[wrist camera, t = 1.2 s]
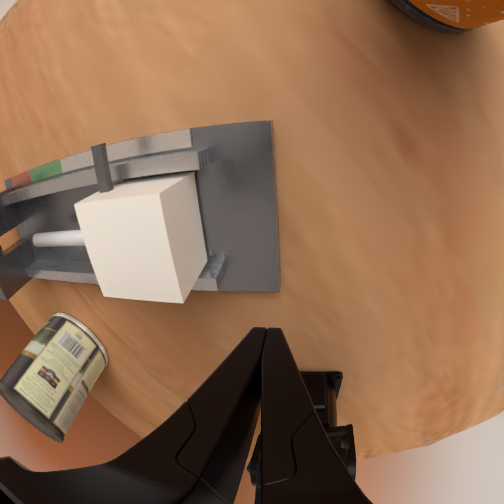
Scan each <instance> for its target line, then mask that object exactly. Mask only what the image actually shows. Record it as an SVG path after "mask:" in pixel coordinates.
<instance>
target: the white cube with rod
mask: <svg viewBox="0 0 504 504" xmlns="http://www.w3.org/2000/svg"><path fill="white" fill-rule="evenodd" d="M91 150H92V156H93V162H94V167H95V172H96V178H97V183H98V187H99V191H98V192H96V193H94V194H92V195H91V196H89V197H87V198H85V199H83V200H81V201H79V202H77V203H76V204H74V207H75V211H76V215H77V218H78V222H79V226H80V229H81V230H68V231H56V232H44V233H36V234H34V236H33V244H34V246H36V247H54V246H86V249H87V252H88V255H89V258H90V261H91V264H92V267H93V269H94V272H95V275H96V278H97V280H98V283H99V286H100V288H101V291H102V293H103V296H105V297H114V298H124V299H134V300H145V301H157V302H170V303H184V302H185V300H186V298H187V296H188V295H189V293H190V291H191V289H192V287H193V286H194V284H195V282H196V280H197V279H198V277H199V275H200V273H201V271H202V270H203V268H204V266H205V264H206V263H207V261H208V260H207V254H206V248H205V242H204V236H203V230H202V224H201V217H200V210H199V204H198V197H197V190H196V183H195V175H194V172H187V173H178V174H169V175H161V176H153V177H145V178H138V179H131V180H125V181H119V182H116V183H114V184H112V179H111V174H110V168H109V163H108V157H107V150H106V144H105V143H103V144H99V145H96V146H92V147H91Z"/></svg>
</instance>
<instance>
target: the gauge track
mask: <svg viewBox="0 0 504 504" xmlns="http://www.w3.org/2000/svg"><path fill="white" fill-rule="evenodd" d="M106 150H107V157H108V163H109V168H110V174H111V179H112V184H114V183H116V182H119V181H125V180H131V179H138V178H145V177H153V176H161V175H169V174H178V173H187V172H194V175H195V183H196V190H197V197H198V204H199V210H200V217H201V224H202V230H203V236H204V242H205V248H206V254H207V260H208V261H207V263H206V264H205V266H204V268H203V270H202V271H201V273H200V275H199V277H198V279H197V280H196V282H195V284H194V286H193V287H192V289H191V290H201V291H242V292H280V284H281V280H280V250H279V226H278V205H277V186H276V168H275V152H274V137H273V123H272V121H256V122H243V123H232V124H222V125H213V126H205V127H198V128H191V129H184V130H178V131H172V132H166V133H161V134H156V135H151V136H146V137H141V138H136V139H132V140H127V141H123V142H119V143H115V144H111V145H107V146H106ZM5 185H6V190H4V191H2V192H0V236H2V235H3V234H5V233H6V232H8V231H9V230H11V229H12V228H14V227H17V230H18V233H19V236H20V240H19V241H17V242H16V243H15V244H13V245H12V246H10V247H9V248H7V249H6V250H5V251H2V249H1V246H0V299H3V300H9V299H10V298H11V297H12V296H13V295H14V294H15V293H16V292H17V291H18V290H19V289H20V288H22V287H23V286H24V285H25V284H26V283H27V282H28V281H30V280H31V279H32V278H40V279H50V280H59V281H69V282H79V283H91V284H99V283H98V280H97V278H96V275H95V272H94V269H93V267H92V264H91V261H90V258H89V255H88V252H87V249H86V246H54V247H36V246H34V244H33V236H34V234H36V233H44V232H56V231H68V230H81V229H80V226H79V222H78V218H77V215H76V211H75V207H74V204H76V203H77V202H79V201H81V200H83V199H85V198H87V197H89V196H91V195H92V194H94V193H96V192H98V191H99V187H98V183H97V178H96V172H95V167H94V162H93V156H92V150H89V151H85V152H82V153H78V154H75V155H72V156H69V157H66V158H63V159H60V160H57V161H54V162H51V163H48V164H45V165H42V166H40V167H37V168H34V169H32V170H29V171H27V172H24V173H22V174H19V175H17V176H14V177H12V178H10V179H7V180H5Z"/></svg>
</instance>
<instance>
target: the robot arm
mask: <svg viewBox="0 0 504 504" xmlns="http://www.w3.org/2000/svg"><path fill="white" fill-rule="evenodd" d="M342 378H343V375H342V372H299V369H298V367H297V365H296V362H295V360H294V358H293V355H292V353H291V350H290V348H289V346H288V343H287V341H286V338H285V336H284V334H283V331H282V329H281V328H268V329H266V328H264V327H254V328H252V330H251V331H250V332H249V333H248V334H247V335H246V336H245V337H244V339H243V340H242V341H241V342H240V343H239V344H238V345H237V347H236V348H235V349H234V350H233V351H232V352H231V353H230V354H229V355H228V357H227V358H226V359H225V360H224V361H223V362H222V363H221V364H220V365H219V366H218V368H217V369H216V370H215V371H214V372H213V373H212V374H211V375H210V376H209V377H208V378H207V379H206V381H205V382H204V383H203V384H202V385H201V386H200V387H199V388H198V389H197V390H196V391H195V392H194V393H193V394H192V395H191V396H190V397H189V398H188V400H187V402H184V403H183V404H182V406H181V407H180V408H179V409H178V410H177V411H176V412H175V413H173V414H172V415H171V416H170V417H169V418H168V419H167V420H166V421H165V422H164V423H163V424H161V425H160V426H159V427H158V428H156V429H155V430H154V431H153V432H152V433H150V434H149V435H148V436H146V437H145V438H144V439H142V440H141V441H140V442H138V443H137V444H136V445H134V446H133V447H131V448H130V449H129V450H127V451H126V452H125V453H123V454H122V455H120V456H118V457H117V458H115V459H113V460H111V461H109V462H107V463H103V464H100V465H95V466H90V467H84V468H77V469H69V470H60V471H51V472H33V471H31V470H29V469H28V468H26V467H25V466H23V465H22V464H20V463H19V462H18V461H16V460H15V459H13V458H12V457H9V456H7V457H1V458H0V504H234V500H235V497H236V494H237V491H238V487H239V484H240V481H241V478H242V474H243V471H244V467H245V464H246V460H247V457H248V453H249V450H250V446H251V442H252V439H253V435H254V431H255V428H256V424H257V420H258V416H259V412H260V408H261V432H260V435H258V438H257V442H256V445H255V448H254V452H253V455H252V458H251V460H250V462H249V464H248V466H247V471H248V472H249V473H250V476H251V483H252V485H253V486H256V493H255V503H254V504H373V503H372V502H371V501H370V500H369V499H368V498H367V497H366V496H365V494H364V493H363V492H362V491H361V489H360V488H359V486H358V485H357V484H356V482H355V475H356V453H355V443H354V434H353V426H352V424H349V425H347V426H338V427H337V410H336V400H337V397H338V393H339V389H340V386H341V382H342ZM343 447H344V448H343Z"/></svg>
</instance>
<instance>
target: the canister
mask: <svg viewBox="0 0 504 504" xmlns="http://www.w3.org/2000/svg"><path fill="white" fill-rule="evenodd" d="M391 1H392V2H393V3H394V4H395V5H396V6H397V7H398V8H400V9H401V10H402V11H404V12H405V13H406V14H407V15H409V16H410V17H412V18H413V19H415V20H417V21H418V22H420V23H422V24H424V25H426V26H428V27H430V28H433V29H435V30H438V31H441V32H446V33H462V32H466V31H468V30H471V29H473V28H477V27H480V26H483V25H486V24H489V23H492V22H496V21H499V20H503V19H504V0H391Z"/></svg>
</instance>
